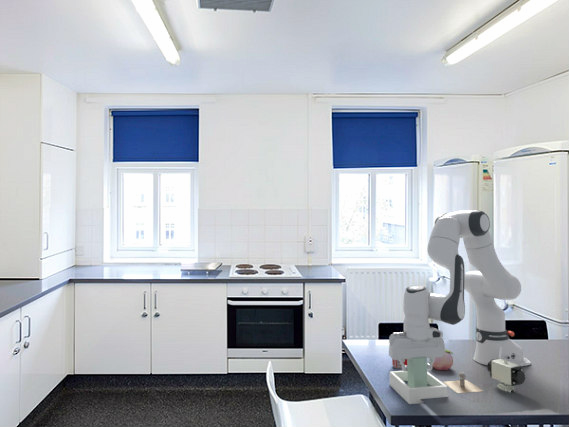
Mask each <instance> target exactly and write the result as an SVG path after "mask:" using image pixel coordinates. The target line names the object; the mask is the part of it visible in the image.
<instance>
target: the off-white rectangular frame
mask: <svg viewBox="0 0 569 427" xmlns="http://www.w3.org/2000/svg"><path fill="white" fill-rule="evenodd" d="M406 382H408V371H405V372H404V371H402V370H394V371H393V370H391V371H389V386H390V387H391V388H392V389H393V390H394V391H395V392H396V393H397V394H398V395H399V396H400V397H401V398H402V399H403V400H404V401H405V402H406V403H407V404H409V405H416V404H418V405H419V404H425V402H424V401H423V400H425V399H437V398H438V399H439V398H448V397H449V396H448V393H449V392H448V390H449V389H448V388H449V387H448V386H447V385H446V384H444V383H443V381H441V380H440V379H438V378H437V377H435V376H434V375H433V374H431V373H430V372H429V371H427V385H428V386H427V387H416V388H410V387H409V386H408V383H406Z"/></svg>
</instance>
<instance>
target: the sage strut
mask: <svg viewBox="0 0 569 427" xmlns="http://www.w3.org/2000/svg"><path fill="white" fill-rule="evenodd" d="M427 363H428V358H426V357H424V358H413V359H407V367H408V381H407V385H408V386H409V387H410V388H416V387H428V383H427V372H428V369H427Z"/></svg>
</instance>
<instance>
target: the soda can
mask: <svg viewBox="0 0 569 427" xmlns="http://www.w3.org/2000/svg"><path fill="white" fill-rule="evenodd" d="M391 360H392V361H391V362H392V364H391V365H392V366H393V368H394V369H395V370H402V365H401V364H400V362H399V360H394V359H392V358H391ZM403 363H404V365H406V366H407V359H405V362H403Z"/></svg>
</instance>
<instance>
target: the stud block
mask: <svg viewBox="0 0 569 427" xmlns="http://www.w3.org/2000/svg"><path fill="white" fill-rule="evenodd" d="M458 378H459V380H447V381H445V380H444V381H442V383H444V384H445V385H446V386H448V388H450V389H451V390H452V391H453V392H455V393H457V394H464V393H465V394H466V393H476V392H478V393H479V392H480V393H481V392H484V390H483V389H481V388H480V387H478V386H477V385H475V384H473V383H472V382H470V380H468V379H466V378H467V375H466V374H465V373H464V372H459V373H458Z"/></svg>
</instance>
